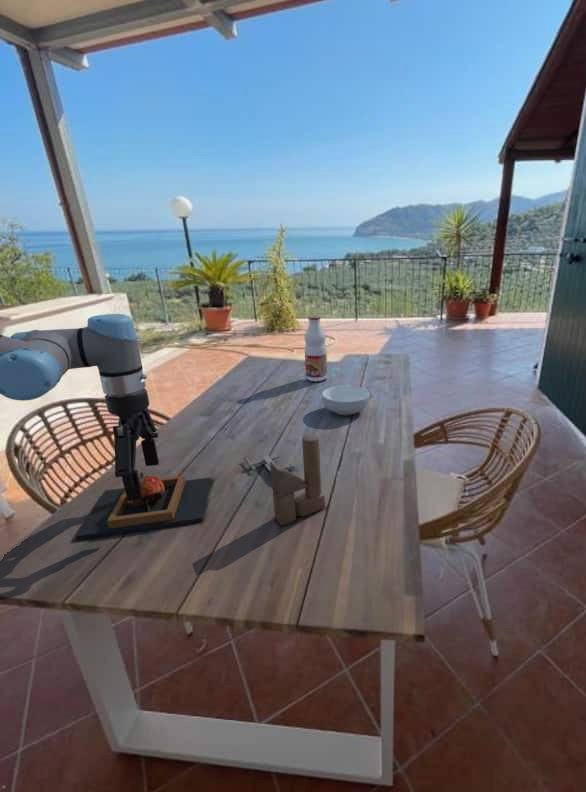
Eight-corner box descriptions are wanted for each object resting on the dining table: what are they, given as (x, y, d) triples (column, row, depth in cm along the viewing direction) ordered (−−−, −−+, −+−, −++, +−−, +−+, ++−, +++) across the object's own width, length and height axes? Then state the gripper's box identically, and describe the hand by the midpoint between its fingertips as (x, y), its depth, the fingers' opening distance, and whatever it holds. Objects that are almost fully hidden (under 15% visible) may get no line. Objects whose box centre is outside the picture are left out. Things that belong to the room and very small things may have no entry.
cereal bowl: (379, 410, 140) (379, 392, 137) (346, 425, 129) (345, 405, 126) (346, 398, 151) (345, 381, 148) (313, 411, 140) (312, 392, 137)
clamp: (300, 468, 100) (262, 481, 94) (300, 476, 100) (263, 489, 95) (277, 445, 111) (242, 455, 106) (277, 452, 112) (243, 462, 107)
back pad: (76, 540, 79) (73, 528, 78) (106, 493, 93) (103, 483, 92) (202, 521, 84) (200, 510, 83) (211, 480, 99) (209, 470, 98)
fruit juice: (330, 380, 171) (328, 317, 161) (310, 384, 167) (307, 319, 157) (322, 374, 178) (320, 313, 169) (303, 377, 175) (299, 315, 165)
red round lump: (171, 513, 89) (166, 472, 93) (161, 504, 82) (157, 461, 87) (135, 523, 86) (132, 481, 91) (122, 515, 80) (120, 471, 85)
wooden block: (274, 517, 85) (267, 444, 79) (317, 500, 91) (314, 431, 85) (281, 527, 82) (275, 452, 76) (325, 508, 88) (322, 437, 82)
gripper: (126, 414, 68) (147, 513, 76) (160, 371, 91) (174, 451, 98) (78, 417, 67) (104, 519, 74) (125, 374, 90) (142, 454, 97)
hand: (144, 480), depth 86 cm, fingers open, 13 cm apart
